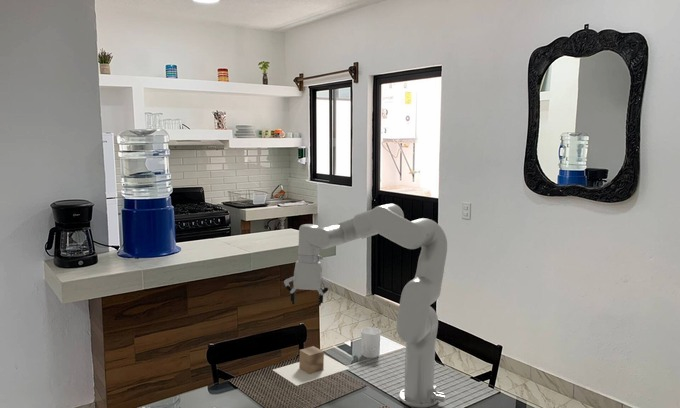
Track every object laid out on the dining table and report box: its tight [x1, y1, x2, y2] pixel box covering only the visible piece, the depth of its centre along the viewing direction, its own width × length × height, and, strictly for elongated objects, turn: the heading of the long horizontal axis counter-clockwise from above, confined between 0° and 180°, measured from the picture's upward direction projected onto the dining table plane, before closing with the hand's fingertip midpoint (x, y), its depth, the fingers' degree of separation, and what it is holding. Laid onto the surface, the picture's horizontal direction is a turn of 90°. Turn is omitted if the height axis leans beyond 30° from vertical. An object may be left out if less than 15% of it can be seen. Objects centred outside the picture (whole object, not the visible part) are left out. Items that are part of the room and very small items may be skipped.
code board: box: [272, 354, 350, 387], centre depth 194 cm, size 24×16×1 cm, turn 129°
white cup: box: [360, 326, 382, 359], centre depth 209 cm, size 8×8×10 cm
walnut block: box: [298, 345, 325, 374], centre depth 194 cm, size 6×6×7 cm
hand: (306, 304), depth 193 cm, fingers open, 9 cm apart
